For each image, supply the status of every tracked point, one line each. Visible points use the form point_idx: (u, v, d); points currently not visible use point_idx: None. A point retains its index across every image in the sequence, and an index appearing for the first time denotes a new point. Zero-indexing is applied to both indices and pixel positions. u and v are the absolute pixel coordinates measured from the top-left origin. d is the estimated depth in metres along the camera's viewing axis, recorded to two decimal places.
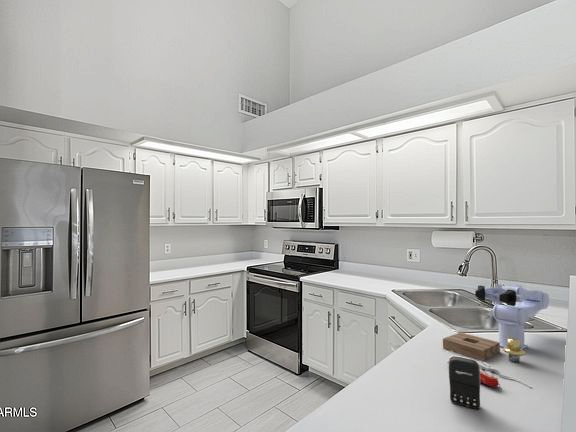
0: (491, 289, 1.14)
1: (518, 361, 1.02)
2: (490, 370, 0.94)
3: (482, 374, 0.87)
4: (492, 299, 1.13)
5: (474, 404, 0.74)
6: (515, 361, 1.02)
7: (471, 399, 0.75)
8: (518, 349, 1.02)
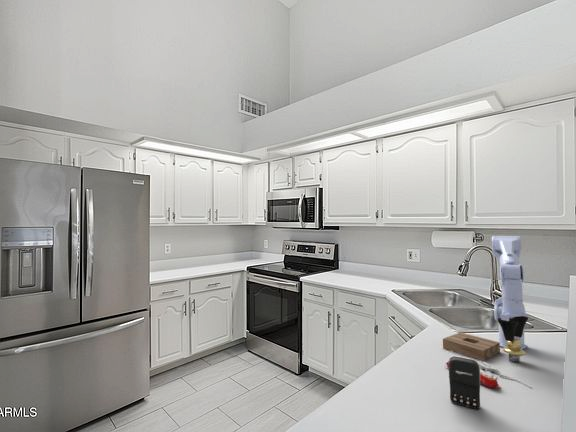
0: None
1: (518, 361, 1.02)
2: (490, 370, 0.94)
3: (482, 375, 0.86)
4: None
5: (474, 404, 0.74)
6: (515, 361, 1.02)
7: (471, 399, 0.75)
8: (518, 349, 1.02)
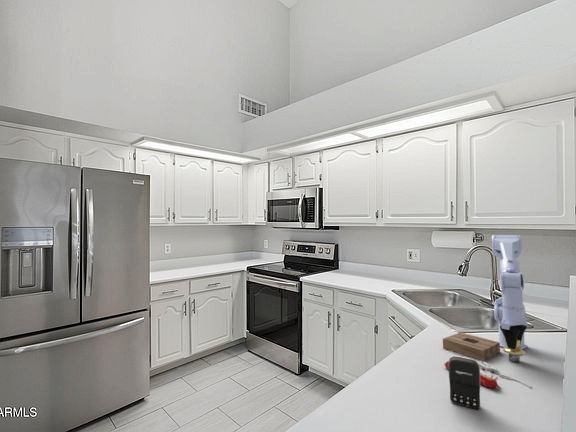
0: None
1: (518, 361, 1.02)
2: (490, 370, 0.94)
3: (481, 376, 0.86)
4: None
5: (474, 404, 0.74)
6: (515, 361, 1.02)
7: (471, 399, 0.75)
8: (518, 349, 1.02)
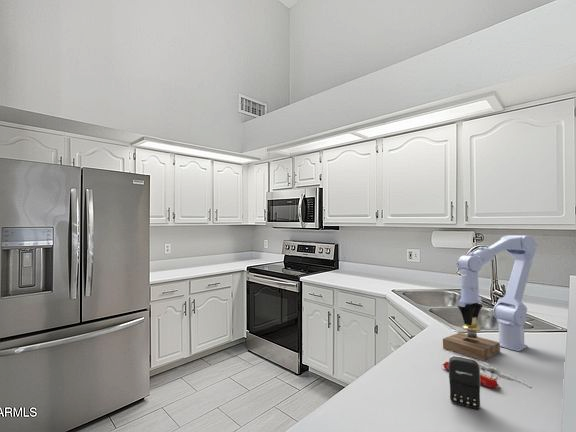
0: None
1: (475, 336, 1.11)
2: (490, 370, 0.94)
3: (482, 376, 0.86)
4: None
5: (474, 404, 0.74)
6: (472, 337, 1.11)
7: (471, 399, 0.75)
8: (474, 325, 1.11)
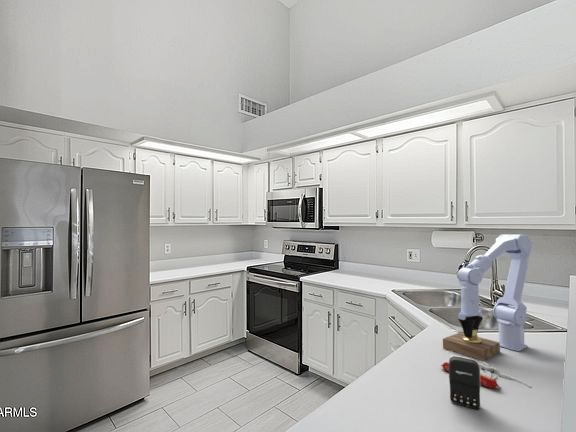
0: None
1: None
2: (490, 370, 0.95)
3: (482, 376, 0.86)
4: None
5: (474, 404, 0.74)
6: None
7: (471, 399, 0.75)
8: (475, 338, 1.11)
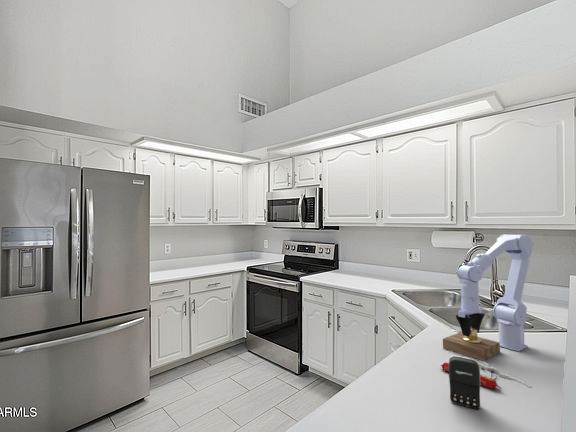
0: None
1: None
2: (489, 369, 0.95)
3: (481, 376, 0.86)
4: None
5: (474, 404, 0.74)
6: None
7: (471, 399, 0.75)
8: (475, 338, 1.11)
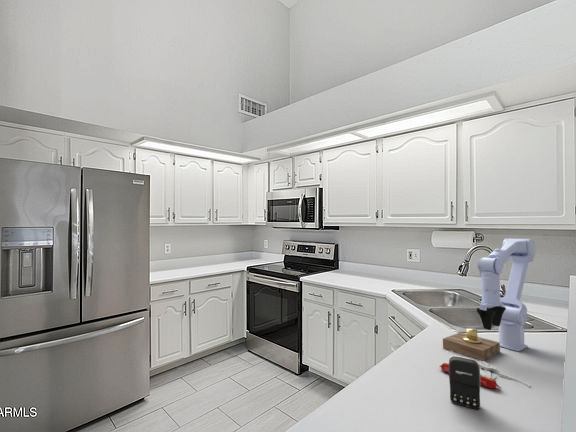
0: None
1: None
2: (489, 369, 0.95)
3: (482, 377, 0.86)
4: None
5: (474, 404, 0.74)
6: None
7: (471, 399, 0.75)
8: (475, 338, 1.11)
